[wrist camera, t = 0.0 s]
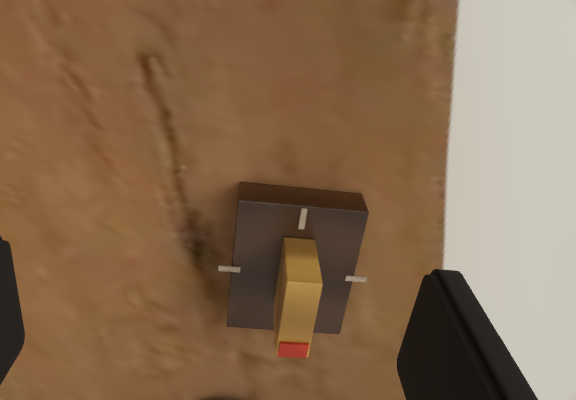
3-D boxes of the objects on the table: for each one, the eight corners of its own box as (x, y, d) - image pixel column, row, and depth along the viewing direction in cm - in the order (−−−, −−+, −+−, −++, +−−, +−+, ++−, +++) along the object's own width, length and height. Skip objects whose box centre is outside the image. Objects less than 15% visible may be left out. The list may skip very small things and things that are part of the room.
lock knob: (283, 236, 30) (286, 284, 26) (315, 239, 30) (323, 287, 26) (273, 305, 32) (274, 359, 28) (302, 307, 32) (308, 361, 28)
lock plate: (226, 180, 31) (223, 199, 28) (374, 194, 31) (383, 214, 29) (217, 302, 35) (213, 327, 33) (346, 311, 36) (351, 337, 34)
